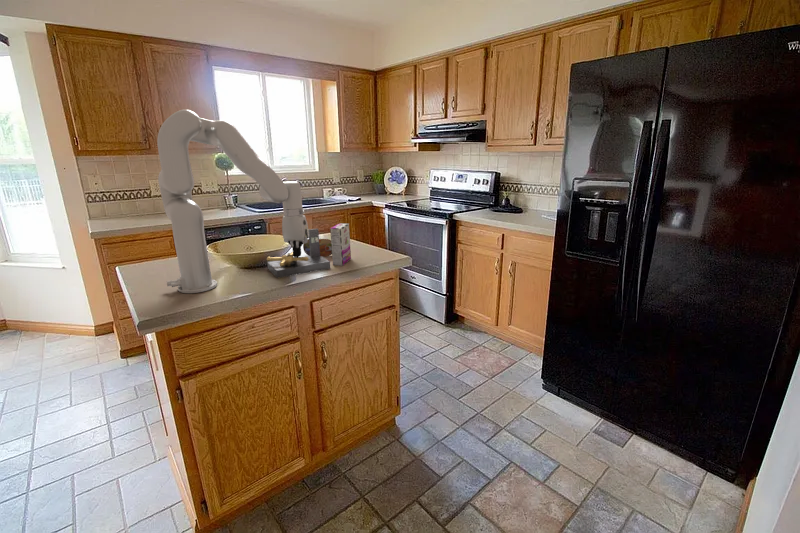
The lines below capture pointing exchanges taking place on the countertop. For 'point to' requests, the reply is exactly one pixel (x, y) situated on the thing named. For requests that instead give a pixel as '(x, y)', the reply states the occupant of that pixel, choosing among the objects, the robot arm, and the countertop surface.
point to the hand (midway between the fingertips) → (297, 256)
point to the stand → (311, 265)
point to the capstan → (287, 259)
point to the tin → (324, 247)
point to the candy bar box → (340, 244)
